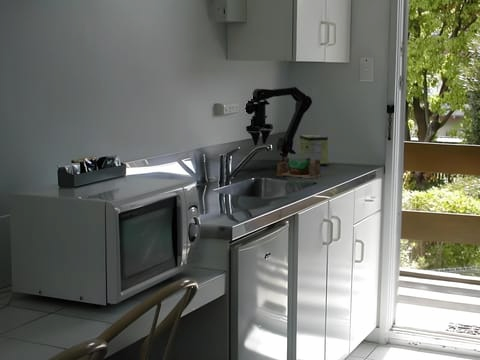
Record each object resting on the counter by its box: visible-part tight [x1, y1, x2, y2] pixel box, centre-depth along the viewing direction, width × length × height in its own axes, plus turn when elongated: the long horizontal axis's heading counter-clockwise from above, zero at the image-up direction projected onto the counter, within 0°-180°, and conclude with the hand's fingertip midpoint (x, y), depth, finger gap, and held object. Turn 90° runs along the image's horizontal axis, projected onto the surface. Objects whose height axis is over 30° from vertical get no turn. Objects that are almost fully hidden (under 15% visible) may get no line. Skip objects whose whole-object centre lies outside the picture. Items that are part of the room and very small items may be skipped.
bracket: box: [275, 157, 322, 179], centre depth 351 cm, size 10×19×8 cm, turn 62°
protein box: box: [299, 134, 329, 167], centre depth 391 cm, size 10×16×16 cm
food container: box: [287, 152, 312, 175], centre depth 349 cm, size 12×6×10 cm, turn 62°
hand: (259, 144), depth 370 cm, fingers open, 9 cm apart
